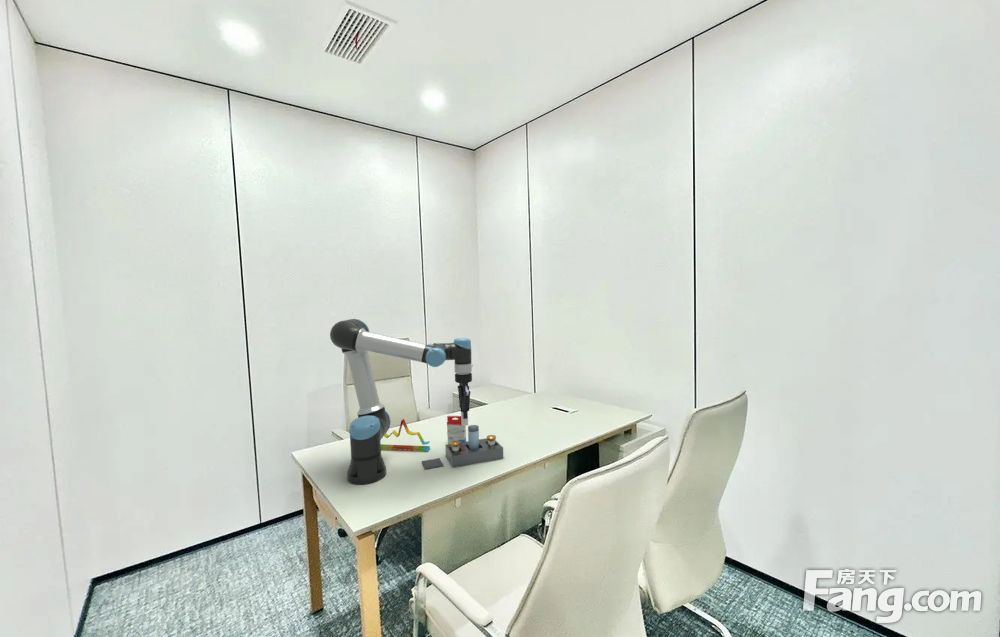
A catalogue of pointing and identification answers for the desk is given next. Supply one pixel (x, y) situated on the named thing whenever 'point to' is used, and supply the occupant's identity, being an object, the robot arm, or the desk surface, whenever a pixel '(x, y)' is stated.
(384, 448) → the chart
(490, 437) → the plunger far
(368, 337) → the robot arm
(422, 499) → the desk surface
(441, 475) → the desk surface
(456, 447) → the plunger near
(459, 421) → the ink box
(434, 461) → the pad
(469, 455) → the housing
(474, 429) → the cylinder
